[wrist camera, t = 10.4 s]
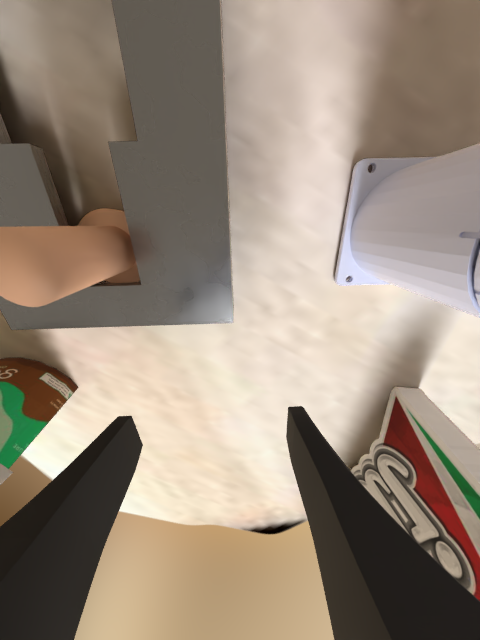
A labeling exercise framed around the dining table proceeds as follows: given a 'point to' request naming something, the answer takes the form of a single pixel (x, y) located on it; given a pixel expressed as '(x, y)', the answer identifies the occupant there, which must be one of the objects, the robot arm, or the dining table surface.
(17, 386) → the food container
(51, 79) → the dining table surface
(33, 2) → the dining table surface
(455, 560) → the decorative sign
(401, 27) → the dining table surface
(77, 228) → the peg
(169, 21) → the keyhole plate
